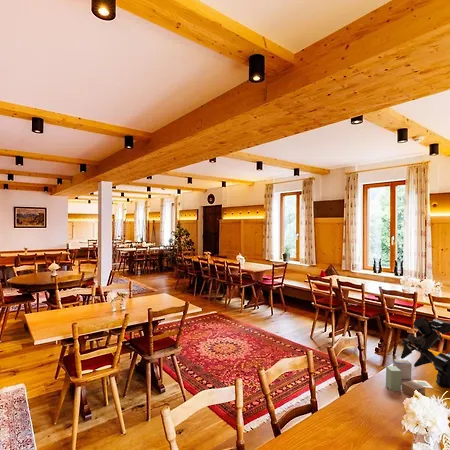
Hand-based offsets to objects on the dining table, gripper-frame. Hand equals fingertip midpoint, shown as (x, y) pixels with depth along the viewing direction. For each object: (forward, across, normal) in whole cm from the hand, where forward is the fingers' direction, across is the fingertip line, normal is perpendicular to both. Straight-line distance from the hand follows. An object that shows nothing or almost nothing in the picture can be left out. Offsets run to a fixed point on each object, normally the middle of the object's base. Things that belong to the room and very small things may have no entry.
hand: (407, 362), depth 159 cm
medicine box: (+6, -10, +13) cm, 18 cm away
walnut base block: (+10, +5, +9) cm, 14 cm away
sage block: (+14, 0, +4) cm, 15 cm away
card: (+2, -2, +16) cm, 17 cm away
